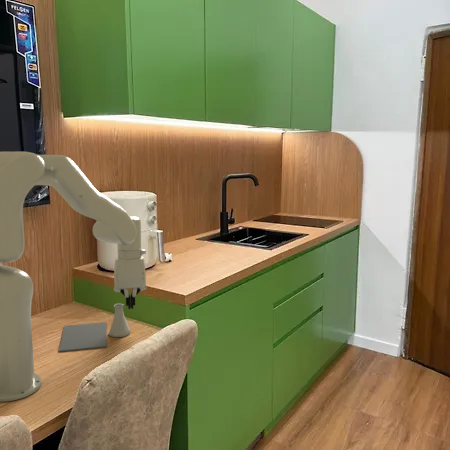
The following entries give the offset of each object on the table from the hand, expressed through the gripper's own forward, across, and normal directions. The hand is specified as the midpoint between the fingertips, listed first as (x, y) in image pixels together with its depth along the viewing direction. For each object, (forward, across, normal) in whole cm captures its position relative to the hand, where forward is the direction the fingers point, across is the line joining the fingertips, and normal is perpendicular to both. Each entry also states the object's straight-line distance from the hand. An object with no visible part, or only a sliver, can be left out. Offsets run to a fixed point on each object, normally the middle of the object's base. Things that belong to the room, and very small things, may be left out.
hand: (130, 307), depth 143 cm
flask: (+9, +4, 0) cm, 10 cm away
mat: (+9, +15, 0) cm, 17 cm away
